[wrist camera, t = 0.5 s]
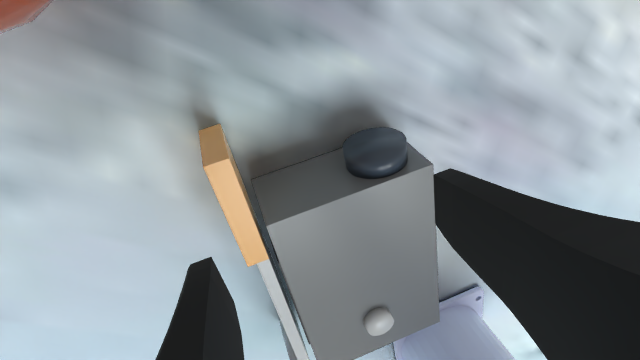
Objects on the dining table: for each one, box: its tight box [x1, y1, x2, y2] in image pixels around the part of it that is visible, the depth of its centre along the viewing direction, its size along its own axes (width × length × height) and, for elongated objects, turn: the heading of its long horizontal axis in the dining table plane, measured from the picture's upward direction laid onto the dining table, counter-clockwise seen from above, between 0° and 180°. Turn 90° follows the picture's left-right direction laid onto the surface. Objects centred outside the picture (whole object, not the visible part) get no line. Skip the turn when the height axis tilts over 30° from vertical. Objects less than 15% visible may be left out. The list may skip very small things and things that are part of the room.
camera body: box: [251, 127, 440, 360], centre depth 21 cm, size 13×8×5 cm, turn 12°
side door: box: [199, 124, 309, 360], centre depth 20 cm, size 15×1×4 cm, turn 12°
